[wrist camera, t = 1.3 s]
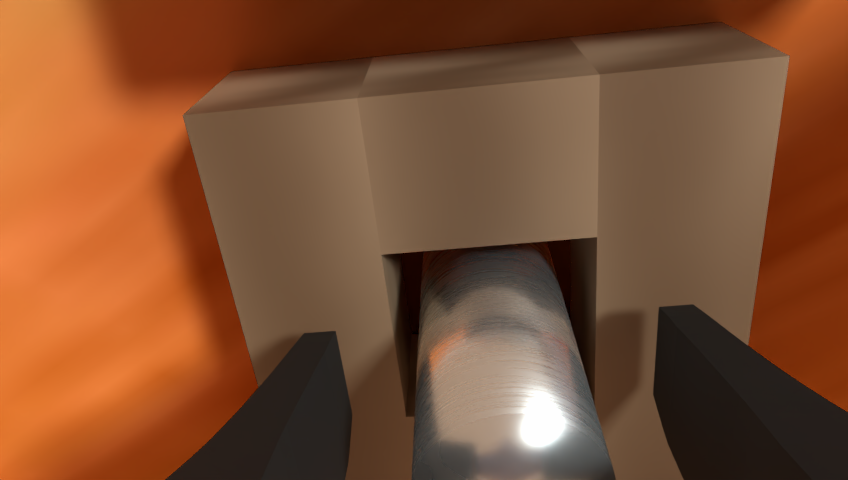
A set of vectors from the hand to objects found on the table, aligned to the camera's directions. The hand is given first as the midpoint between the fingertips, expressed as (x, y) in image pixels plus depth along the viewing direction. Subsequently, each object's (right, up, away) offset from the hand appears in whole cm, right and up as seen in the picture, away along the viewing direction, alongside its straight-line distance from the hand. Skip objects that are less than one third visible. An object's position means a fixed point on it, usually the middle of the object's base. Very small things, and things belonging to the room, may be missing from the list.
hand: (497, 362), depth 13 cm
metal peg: (0, +2, +3) cm, 4 cm away
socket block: (0, +2, +3) cm, 4 cm away
